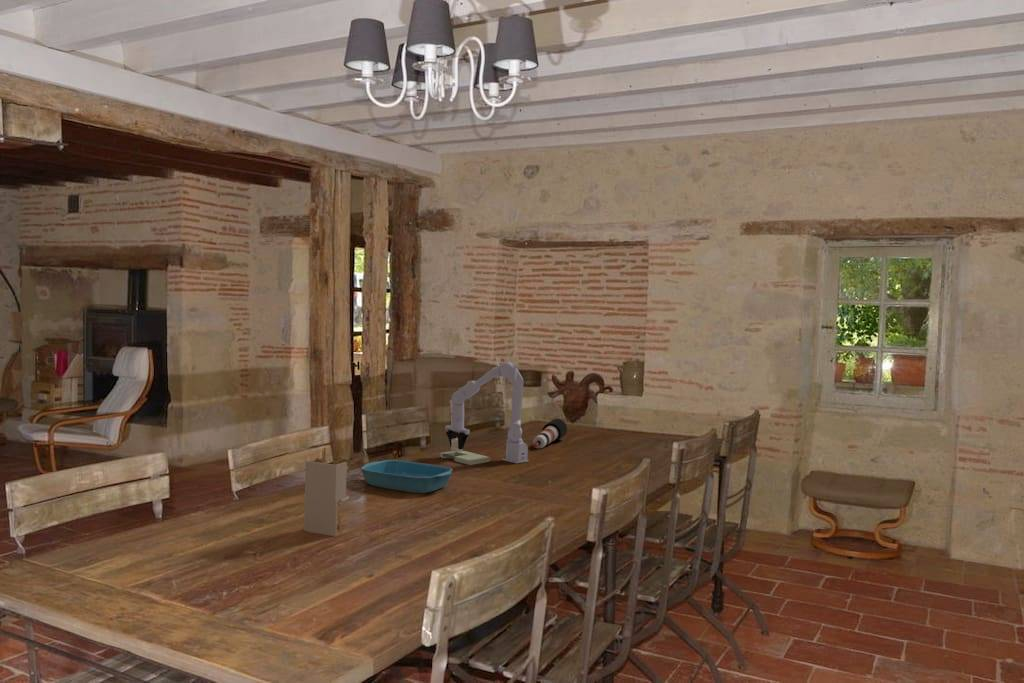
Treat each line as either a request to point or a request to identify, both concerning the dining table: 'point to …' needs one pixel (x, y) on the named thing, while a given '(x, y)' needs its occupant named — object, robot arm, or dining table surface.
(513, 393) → the robot arm
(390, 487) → the casserole dish
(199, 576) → the dining table surface
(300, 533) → the dining table surface
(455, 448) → the white round knob
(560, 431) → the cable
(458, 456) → the pale green panel
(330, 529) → the tall grey upright box
